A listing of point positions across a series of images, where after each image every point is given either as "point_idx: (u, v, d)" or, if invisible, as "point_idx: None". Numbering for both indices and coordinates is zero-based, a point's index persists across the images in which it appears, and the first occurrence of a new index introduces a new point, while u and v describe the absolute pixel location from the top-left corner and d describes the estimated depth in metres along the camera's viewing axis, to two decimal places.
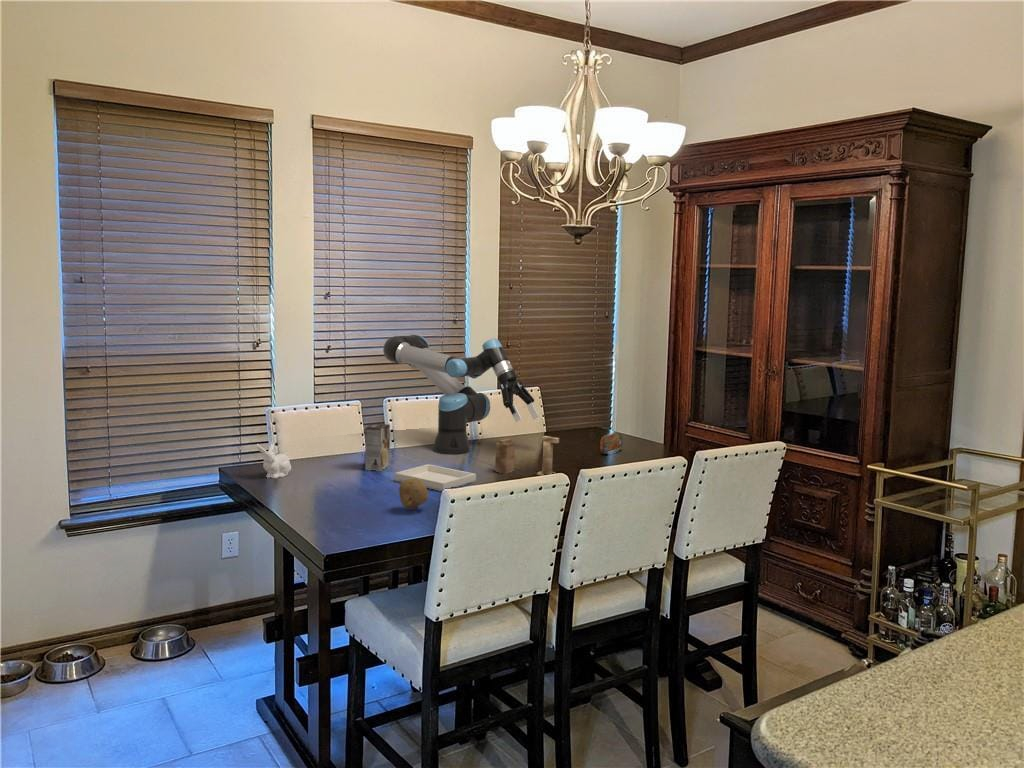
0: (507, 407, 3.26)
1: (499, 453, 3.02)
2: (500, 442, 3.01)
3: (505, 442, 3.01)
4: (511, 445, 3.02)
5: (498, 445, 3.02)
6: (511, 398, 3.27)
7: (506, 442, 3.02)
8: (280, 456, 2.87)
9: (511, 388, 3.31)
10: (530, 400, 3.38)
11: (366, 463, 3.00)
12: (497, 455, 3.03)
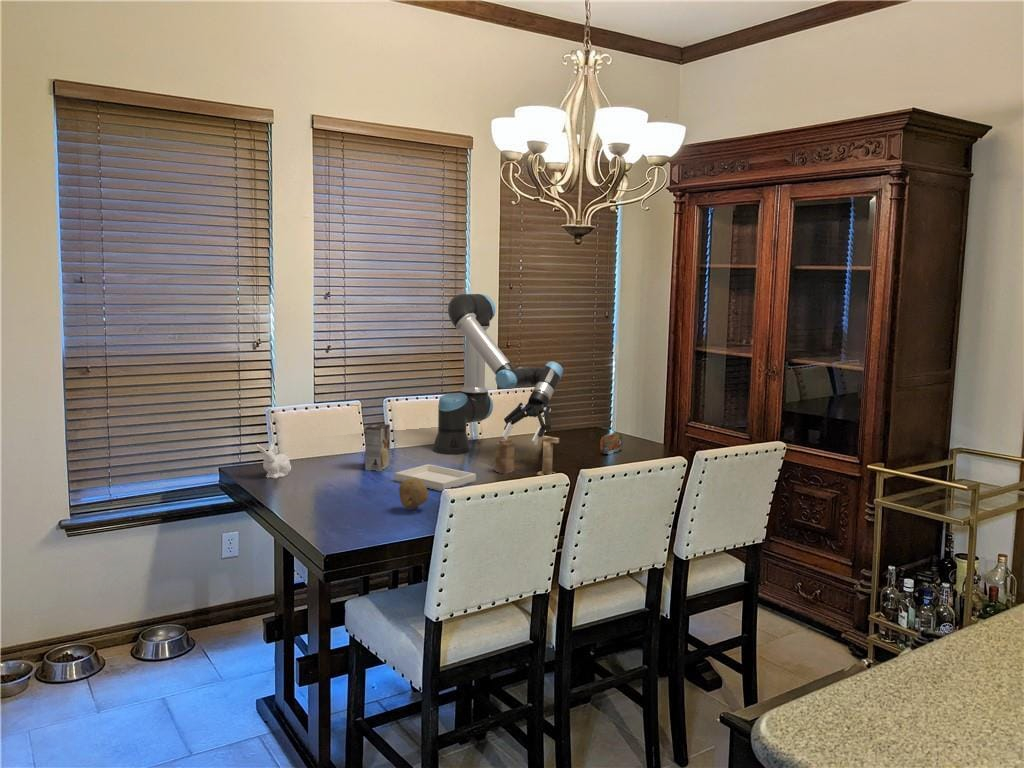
0: (542, 426, 3.05)
1: (499, 453, 3.02)
2: (500, 442, 3.01)
3: (505, 442, 3.01)
4: (511, 445, 3.02)
5: (498, 445, 3.02)
6: (544, 424, 3.09)
7: (506, 442, 3.02)
8: (280, 456, 2.87)
9: (540, 414, 3.13)
10: None
11: (366, 463, 3.00)
12: (497, 455, 3.03)
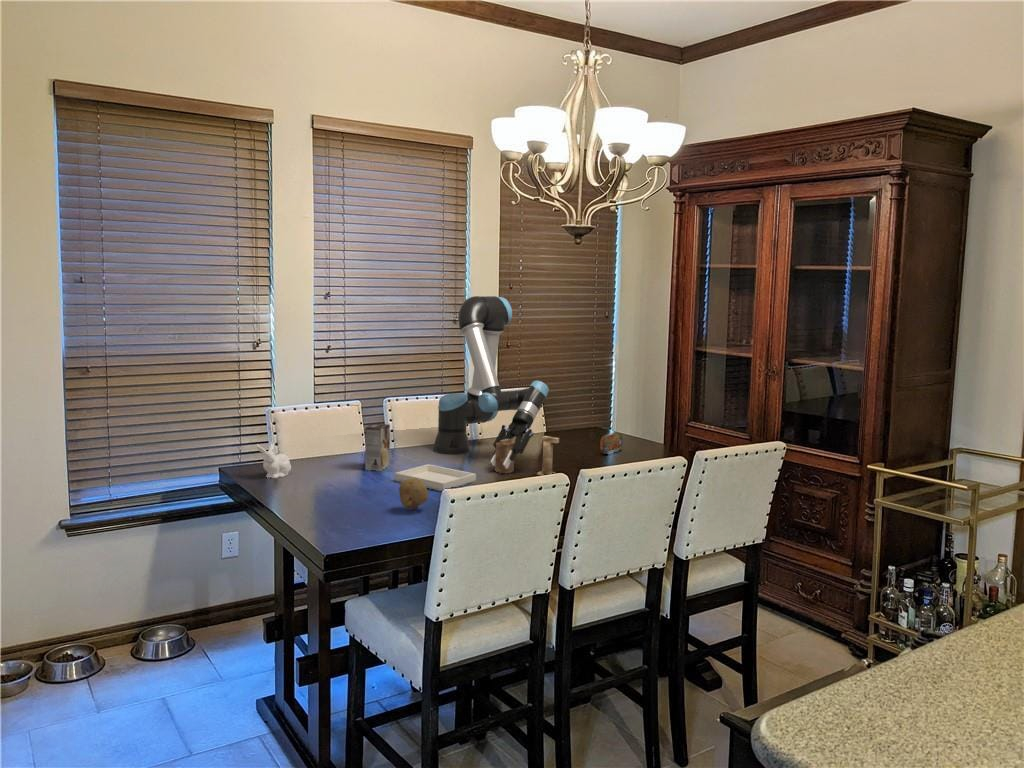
0: (513, 450, 3.01)
1: (499, 453, 3.02)
2: (500, 442, 3.01)
3: (505, 442, 3.01)
4: (511, 445, 3.02)
5: (498, 445, 3.02)
6: None
7: (506, 442, 3.02)
8: (280, 456, 2.87)
9: (522, 435, 3.08)
10: None
11: (366, 463, 3.00)
12: (497, 455, 3.03)
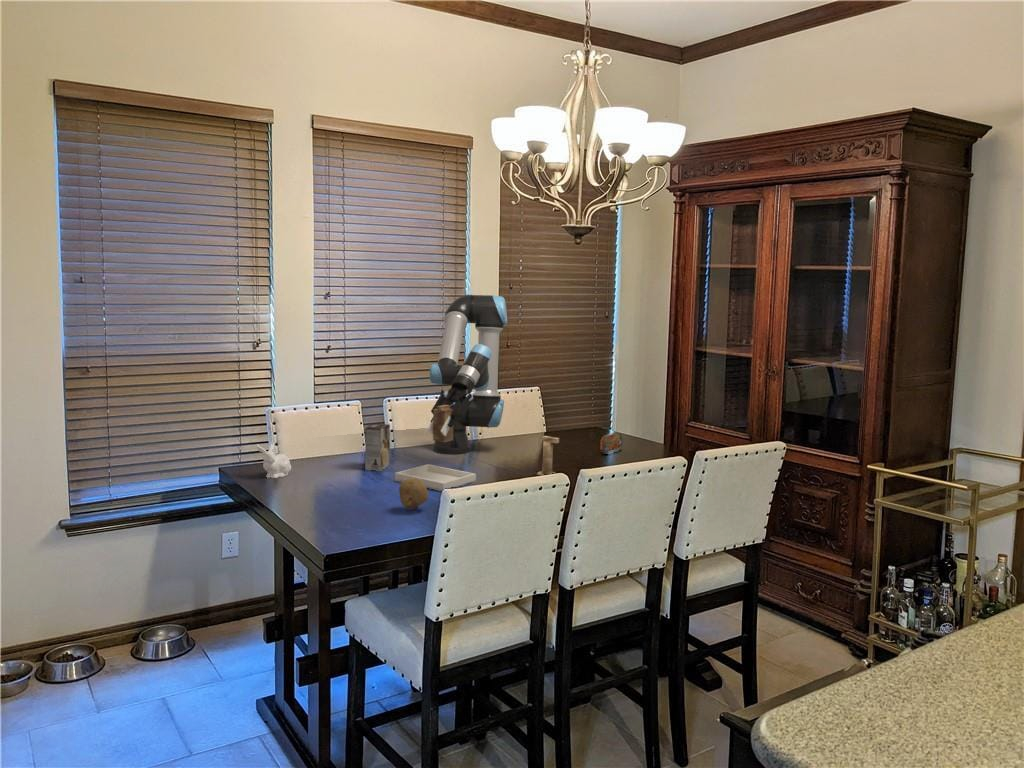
0: None
1: (436, 420, 2.83)
2: (438, 408, 2.82)
3: (443, 408, 2.82)
4: (449, 411, 2.83)
5: (436, 411, 2.83)
6: None
7: (444, 408, 2.83)
8: (280, 456, 2.87)
9: (462, 401, 2.89)
10: None
11: (366, 463, 3.00)
12: (435, 422, 2.83)
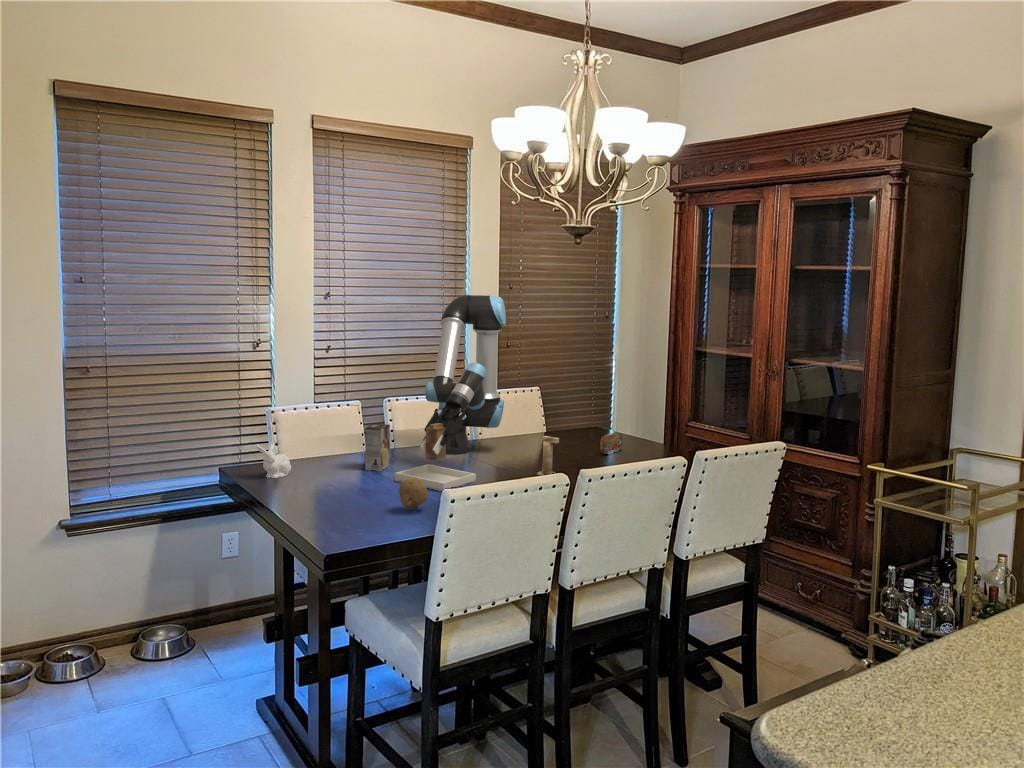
0: (444, 434, 2.82)
1: (429, 438, 2.83)
2: (430, 426, 2.82)
3: (435, 426, 2.82)
4: (442, 429, 2.83)
5: (428, 429, 2.83)
6: None
7: (437, 426, 2.83)
8: (280, 456, 2.87)
9: (455, 419, 2.89)
10: None
11: (366, 463, 3.00)
12: (427, 440, 2.83)
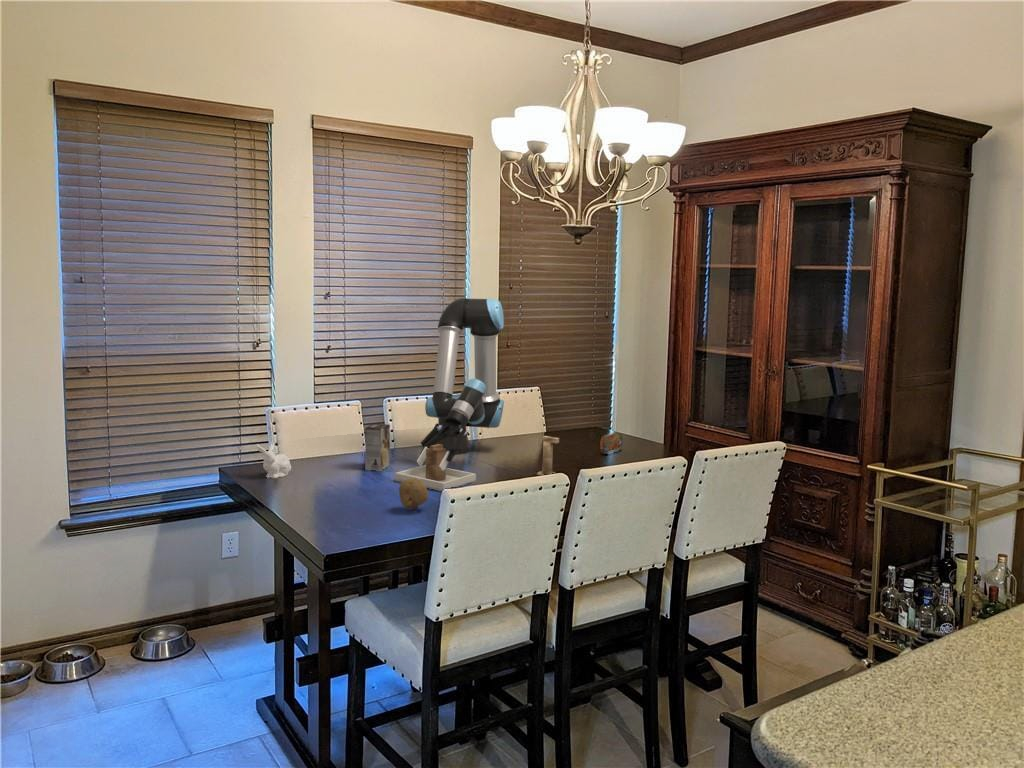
0: (451, 451, 2.83)
1: (429, 459, 2.85)
2: (430, 447, 2.84)
3: (435, 447, 2.84)
4: (442, 451, 2.85)
5: (428, 451, 2.85)
6: None
7: (437, 447, 2.84)
8: (280, 456, 2.87)
9: (456, 436, 2.90)
10: None
11: (366, 463, 3.00)
12: (427, 461, 2.85)
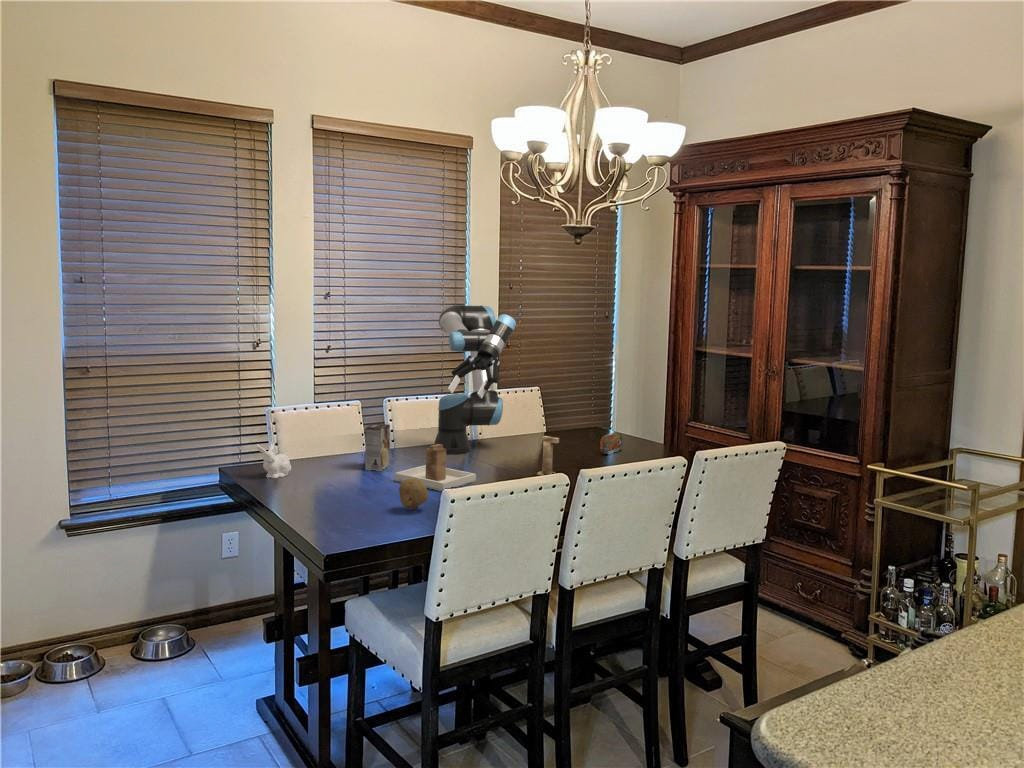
0: (488, 379, 2.93)
1: (429, 459, 2.85)
2: (430, 447, 2.84)
3: (435, 447, 2.84)
4: (442, 451, 2.85)
5: (428, 451, 2.85)
6: (491, 378, 2.97)
7: (437, 447, 2.84)
8: (280, 456, 2.87)
9: (489, 367, 3.01)
10: (460, 377, 3.04)
11: (366, 463, 3.00)
12: (427, 461, 2.85)
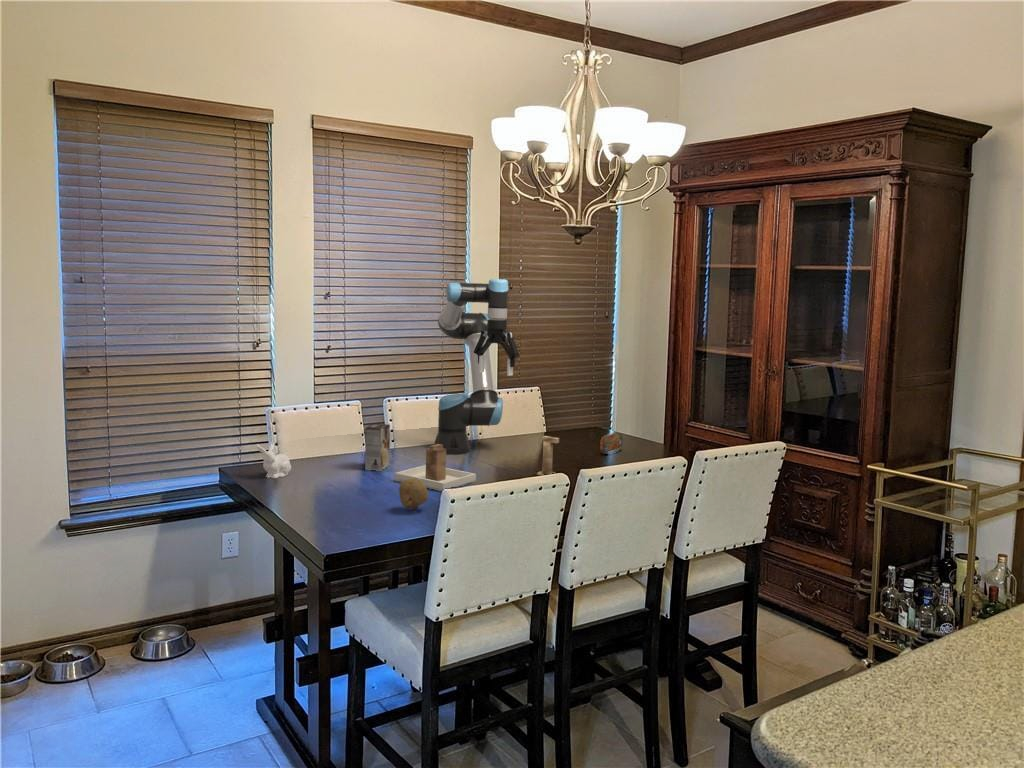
0: (511, 358, 3.11)
1: (429, 459, 2.85)
2: (430, 447, 2.84)
3: (435, 447, 2.84)
4: (442, 451, 2.85)
5: (428, 451, 2.85)
6: (511, 351, 3.14)
7: (437, 447, 2.84)
8: (280, 456, 2.87)
9: (504, 339, 3.15)
10: (483, 352, 3.21)
11: (366, 463, 3.00)
12: (427, 461, 2.85)
